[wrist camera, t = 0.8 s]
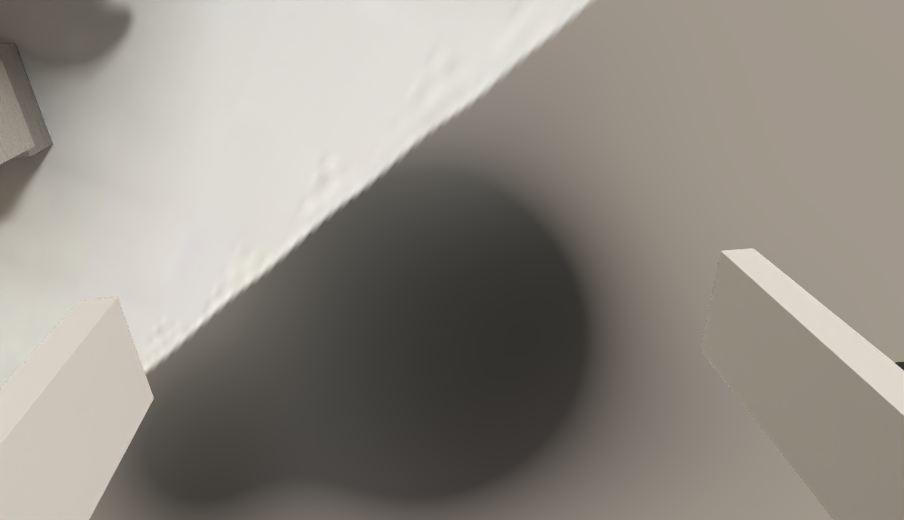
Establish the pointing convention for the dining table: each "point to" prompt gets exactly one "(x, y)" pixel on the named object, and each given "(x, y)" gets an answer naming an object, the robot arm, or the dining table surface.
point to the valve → (18, 110)
